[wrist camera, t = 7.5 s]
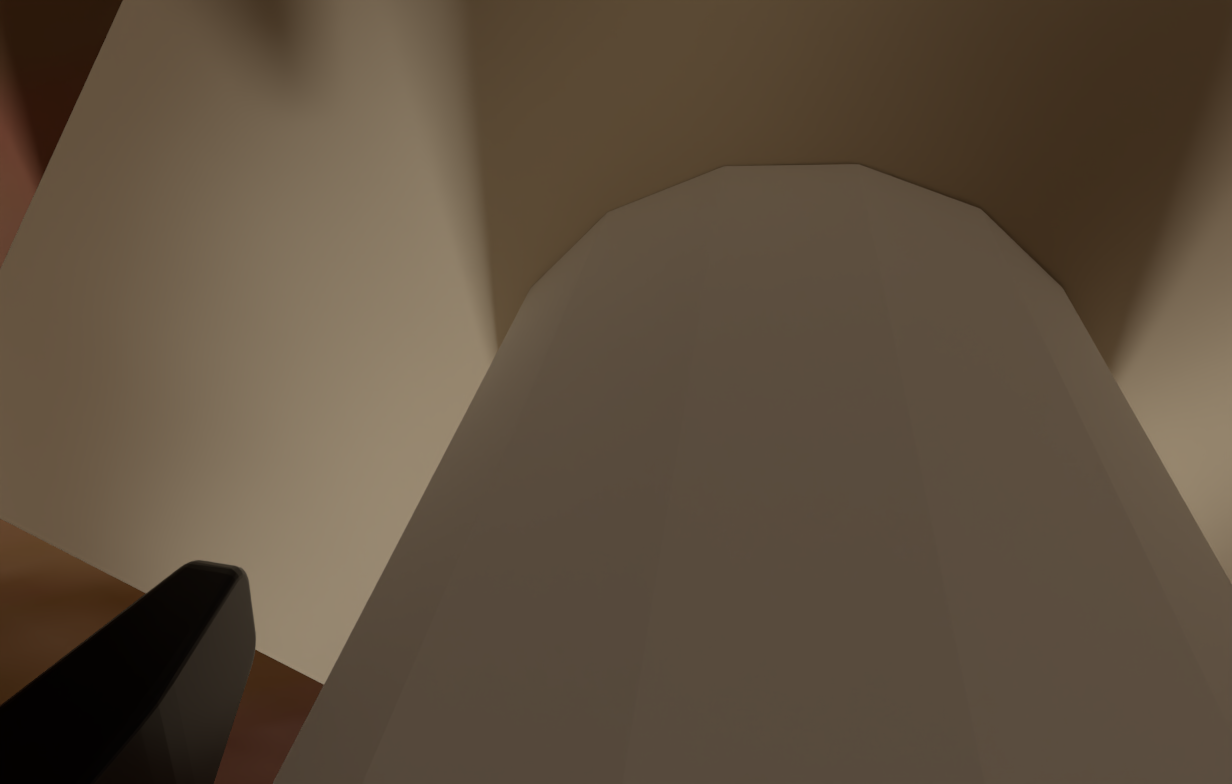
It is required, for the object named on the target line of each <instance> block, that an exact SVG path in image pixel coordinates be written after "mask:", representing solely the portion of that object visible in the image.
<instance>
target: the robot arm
mask: <svg viewBox="0 0 1232 784" xmlns="http://www.w3.org/2000/svg"><path fill="white" fill-rule="evenodd" d="M255 647H256V631H255V624H254V616H253V608H252V601H251V593H250V585H249V580H248V576H247V574H246V572H245V571H244V570H243V569H242V568H241V567H238V566H235V565H228V564H222V563H216V562H210V561H204V560H195V561H191V562H188V563H186V564H184V565H183V566H181V567H180V568H178V569H177V570H176V571H175V572H173V573H172V574H171V575H169V576H168V577H167V578H165V579H164V580H163V581H162V582H160V583H159V584H158V585H156V586H155V587H154V588H152V589H151V590H150V591H149V592H147V593H146V594H145V595H143V596H142V597H141V598H139V599H138V600H137V601H136V602H134V603H133V604H132V605H130V606H129V607H128V608H126V609H125V610H124V611H123V612H121V613H120V614H119V615H117V616H116V617H115V618H113V619H112V620H111V621H110V622H108V623H107V624H106V625H104V626H103V627H102V628H100V629H99V630H98V631H97V632H95V633H94V634H93V635H91V636H90V637H89V638H87V639H86V640H85V641H84V642H82V643H81V644H80V645H78V646H77V647H76V648H74V649H73V650H72V651H71V652H69V653H68V654H67V655H65V656H64V657H63V658H61V659H60V660H59V661H58V662H56V663H55V664H54V665H52V666H51V667H50V668H48V669H47V670H46V671H45V672H43V673H42V674H41V675H39V676H38V677H37V678H35V679H34V680H33V681H32V682H30V683H29V684H28V685H26V686H25V687H24V688H22V689H21V690H20V691H19V692H17V693H16V694H15V695H13V696H12V697H11V698H9V699H8V700H7V701H6V702H4V703H3V704H2V705H0V784H214V781H215V778H216V774H217V771H218V768H219V765H220V762H221V759H222V756H223V753H224V750H225V747H226V744H227V741H228V737H229V734H230V731H231V728H232V725H233V722H234V719H235V716H236V713H237V710H238V707H239V703H240V700H241V697H242V694H243V691H244V688H245V685H246V682H247V679H248V676H249V673H250V669H251V666H252V663H253V658H254V654H255Z"/></svg>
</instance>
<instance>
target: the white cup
mask: <svg viewBox="0 0 1232 784" xmlns="http://www.w3.org/2000/svg"><path fill="white" fill-rule="evenodd" d="M273 784H1232V584H1231V582H1230V580H1229V579H1228V577H1227V575H1226V573H1225V572H1224V570H1223V568H1222V566H1221V564H1220V563H1219V561H1218V559H1217V557H1216V556H1215V554H1214V552H1213V550H1212V549H1211V547H1210V545H1209V543H1208V542H1207V540H1206V538H1205V536H1204V535H1203V533H1202V531H1201V529H1200V528H1199V526H1198V524H1197V522H1196V521H1195V519H1194V517H1193V515H1192V514H1191V512H1190V510H1189V508H1188V507H1187V505H1186V503H1185V501H1184V500H1183V498H1182V496H1181V494H1180V493H1179V491H1178V489H1177V487H1176V486H1175V484H1174V482H1173V480H1172V479H1171V477H1170V475H1169V473H1168V472H1167V470H1166V468H1165V466H1164V465H1163V463H1162V461H1161V459H1160V458H1159V456H1158V454H1157V452H1156V451H1155V449H1154V447H1153V445H1152V443H1151V442H1150V440H1149V438H1148V436H1147V435H1146V433H1145V431H1144V429H1143V428H1142V426H1141V424H1140V422H1139V421H1138V419H1137V417H1136V415H1135V414H1134V412H1133V410H1132V408H1131V407H1130V405H1129V403H1128V401H1127V400H1126V398H1125V396H1124V394H1123V393H1122V391H1121V389H1120V387H1119V386H1118V384H1117V382H1116V380H1115V379H1114V377H1113V375H1112V373H1111V372H1110V370H1109V368H1108V366H1107V365H1106V363H1105V361H1104V359H1103V358H1102V356H1101V354H1100V352H1099V351H1098V349H1097V347H1096V345H1095V344H1094V342H1093V340H1092V338H1091V337H1090V335H1089V333H1088V331H1087V329H1086V328H1085V326H1084V324H1083V322H1082V321H1081V319H1080V317H1079V315H1078V314H1077V312H1076V310H1075V308H1074V307H1073V305H1072V303H1071V301H1070V300H1069V298H1068V296H1067V294H1066V293H1065V291H1064V289H1063V288H1062V287H1061V286H1060V285H1059V284H1058V283H1057V282H1056V281H1055V280H1054V279H1053V278H1052V277H1051V276H1050V275H1049V274H1048V273H1047V272H1046V271H1045V270H1044V269H1042V268H1041V267H1040V266H1039V265H1038V264H1037V263H1036V262H1035V261H1034V260H1033V259H1032V258H1031V257H1030V256H1029V255H1028V254H1027V253H1026V252H1025V251H1024V250H1023V249H1022V248H1021V247H1020V246H1019V245H1018V244H1017V243H1016V242H1015V241H1013V240H1012V239H1011V238H1010V237H1009V236H1008V235H1007V234H1006V233H1005V232H1004V231H1003V230H1002V229H1001V228H1000V227H999V226H998V225H997V224H996V223H995V222H994V221H993V220H992V219H991V218H990V217H989V216H988V215H987V214H986V213H985V212H983V211H982V210H981V209H980V208H977V207H975V206H972V205H969V204H966V203H964V202H961V201H958V200H955V199H953V198H950V197H947V196H944V195H942V194H939V193H936V192H934V191H931V190H928V189H925V188H923V187H920V186H917V185H914V184H912V183H909V182H906V181H903V180H901V179H898V178H895V177H893V176H890V175H887V174H884V173H882V172H879V171H876V170H873V169H871V168H868V167H865V166H862V165H860V164H831V165H763V166H723V167H721V168H718V169H715V170H713V171H710V172H708V173H705V174H703V175H700V176H698V177H695V178H693V179H690V180H688V181H685V182H683V183H680V184H678V185H675V186H672V187H670V188H667V189H665V190H662V191H660V192H657V193H655V194H652V195H650V196H647V197H645V198H642V199H640V200H637V201H634V202H632V203H629V204H627V205H624V206H622V207H619V208H617V209H614V210H612V211H609V212H607V213H606V214H605V215H604V216H603V217H602V218H601V219H600V220H599V221H598V222H597V223H596V224H595V225H594V226H593V227H592V228H591V229H590V230H589V231H588V232H587V233H586V234H585V235H584V236H583V237H582V238H581V239H580V240H579V241H578V242H577V243H576V244H575V245H574V246H573V247H572V248H571V249H570V250H569V251H568V252H567V253H566V254H565V255H564V256H563V257H562V258H561V259H560V260H559V261H558V262H557V263H556V264H554V265H553V266H552V267H551V268H550V269H549V270H548V271H547V272H546V273H545V274H544V275H543V276H542V277H541V278H540V279H539V280H538V281H537V282H536V283H535V284H534V285H533V286H532V287H531V288H530V290H529V292H528V294H527V296H526V298H525V300H524V301H523V303H522V305H521V307H520V309H519V311H518V313H517V315H516V317H515V319H514V321H513V323H512V325H511V326H510V328H509V330H508V332H507V334H506V336H505V338H504V340H503V342H502V344H501V346H500V348H499V350H498V351H497V353H496V355H495V357H494V359H493V361H492V363H491V365H490V367H489V369H488V371H487V373H486V375H485V376H484V378H483V380H482V382H481V384H480V386H479V388H478V390H477V392H476V394H475V396H474V398H473V400H472V401H471V403H470V405H469V407H468V409H467V411H466V413H465V415H464V417H463V419H462V421H461V423H460V425H459V426H458V428H457V430H456V432H455V434H454V436H453V438H452V440H451V442H450V444H449V446H448V448H447V449H446V451H445V453H444V455H443V457H442V459H441V461H440V463H439V465H438V467H437V469H436V471H435V473H434V474H433V476H432V478H431V480H430V482H429V484H428V486H427V488H426V490H425V492H424V494H423V496H422V498H421V499H420V501H419V503H418V505H417V507H416V509H415V511H414V513H413V515H412V517H411V519H410V521H409V523H408V524H407V526H406V528H405V530H404V532H403V534H402V536H401V538H400V540H399V542H398V544H397V546H396V548H395V549H394V551H393V553H392V555H391V557H390V559H389V561H388V563H387V565H386V567H385V569H384V571H383V573H382V574H381V576H380V578H379V580H378V582H377V584H376V586H375V588H374V590H373V592H372V594H371V596H370V597H369V599H368V601H367V603H366V605H365V607H364V609H363V611H362V613H361V615H360V617H359V619H358V621H357V622H356V624H355V626H354V628H353V630H352V632H351V634H350V636H349V638H348V640H347V642H346V644H345V646H344V647H343V649H342V651H341V653H340V655H339V657H338V659H337V661H336V663H335V665H334V667H333V669H332V671H331V672H330V674H329V676H328V678H327V680H326V682H325V684H324V686H323V688H322V690H321V692H320V694H319V696H318V697H317V699H316V701H315V703H314V705H313V707H312V709H311V711H310V713H309V715H308V717H307V719H306V721H305V722H304V724H303V726H302V728H301V730H300V732H299V734H298V736H297V738H296V740H295V742H294V744H293V745H292V747H291V749H290V751H289V753H288V755H287V757H286V759H285V761H284V763H283V765H282V767H281V769H280V770H279V772H278V774H277V776H276V778H275V780H274V782H273Z"/></svg>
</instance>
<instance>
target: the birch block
mask: <svg viewBox="0 0 1232 784" xmlns="http://www.w3.org/2000/svg"><path fill="white" fill-rule="evenodd" d="M831 164H860V165H862V166H865V167H868V168H871V169H873V170H876V171H879V172H882V173H884V174H887V175H890V176H893V177H895V178H898V179H901V180H903V181H906V182H909V183H912V184H914V185H917V186H920V187H923V188H925V189H928V190H931V191H934V192H936V193H939V194H942V195H944V196H947V197H950V198H953V199H955V200H958V201H961V202H964V203H966V204H969V205H972V206H975V207H977V208H980V209H981V210H982V211H983V212H985V213H986V214H987V215H988V216H989V217H990V218H991V219H992V220H993V221H994V222H995V223H996V224H997V225H998V226H999V227H1000V228H1001V229H1002V230H1003V231H1004V232H1005V233H1006V234H1007V235H1008V236H1009V237H1010V238H1011V239H1012V240H1013V241H1015V242H1016V243H1017V244H1018V245H1019V246H1020V247H1021V248H1022V249H1023V250H1024V251H1025V252H1026V253H1027V254H1028V255H1029V256H1030V257H1031V258H1032V259H1033V260H1034V261H1035V262H1036V263H1037V264H1038V265H1039V266H1040V267H1041V268H1042V269H1044V270H1045V271H1046V272H1047V273H1048V274H1049V275H1050V276H1051V277H1052V278H1053V279H1054V280H1055V281H1056V282H1057V283H1058V284H1059V285H1060V286H1061V287H1062V288H1063V289H1064V291H1065V293H1066V294H1067V296H1068V298H1069V300H1070V301H1071V303H1072V305H1073V307H1074V308H1075V310H1076V312H1077V314H1078V315H1079V317H1080V319H1081V321H1082V322H1083V324H1084V326H1085V328H1086V329H1087V331H1088V333H1089V335H1090V337H1091V338H1092V340H1093V342H1094V344H1095V345H1096V347H1097V349H1098V351H1099V352H1100V354H1101V356H1102V358H1103V359H1104V361H1105V363H1106V365H1107V366H1108V368H1109V370H1110V372H1111V373H1112V375H1113V377H1114V379H1115V380H1116V382H1117V384H1118V386H1119V387H1120V389H1121V391H1122V393H1123V394H1124V396H1125V398H1126V400H1127V401H1128V403H1129V405H1130V407H1131V408H1132V410H1133V412H1134V414H1135V415H1136V417H1137V419H1138V421H1139V422H1140V424H1141V426H1142V428H1143V429H1144V431H1145V433H1146V435H1147V436H1148V438H1149V440H1150V442H1151V443H1152V445H1153V447H1154V449H1155V451H1156V452H1157V454H1158V456H1159V458H1160V459H1161V461H1162V463H1163V465H1164V466H1165V468H1166V470H1167V472H1168V473H1169V475H1170V477H1171V479H1172V480H1173V482H1174V484H1175V486H1176V487H1177V489H1178V491H1179V493H1180V494H1181V496H1182V498H1183V500H1184V501H1185V503H1186V505H1187V507H1188V508H1189V510H1190V512H1191V514H1192V515H1193V517H1194V519H1195V521H1196V522H1197V524H1198V526H1199V528H1200V529H1201V531H1202V533H1203V535H1204V536H1205V538H1206V540H1207V542H1208V543H1209V545H1210V547H1211V549H1212V550H1213V552H1214V554H1215V556H1216V557H1217V559H1218V561H1219V563H1220V564H1221V566H1222V568H1223V570H1224V572H1225V573H1226V575H1227V577H1228V579H1229V580H1230V582H1231V584H1232V0H123V1H122V3H121V5H120V8H119V10H118V12H117V14H116V16H115V19H114V21H113V23H112V25H111V27H110V30H109V32H108V34H107V36H106V38H105V41H104V43H103V45H102V47H101V49H100V52H99V54H98V56H97V58H96V60H95V62H94V65H93V67H92V69H91V71H90V73H89V76H88V78H87V80H86V82H85V84H84V87H83V89H82V91H81V93H80V95H79V98H78V100H77V102H76V104H75V106H74V109H73V111H72V113H71V115H70V117H69V120H68V122H67V124H66V126H65V128H64V131H63V133H62V135H61V137H60V139H59V142H58V144H57V146H56V148H55V150H54V153H53V155H52V157H51V159H50V161H49V164H48V166H47V168H46V170H45V172H44V175H43V177H42V179H41V181H40V183H39V186H38V188H37V190H36V192H35V194H34V196H33V199H32V201H31V203H30V205H29V207H28V210H27V212H26V214H25V216H24V218H23V221H22V223H21V225H20V227H19V229H18V232H17V234H16V236H15V238H14V240H13V243H12V245H11V247H10V249H9V251H8V254H7V256H6V258H5V260H4V262H3V265H2V267H1V269H0V519H2V520H4V521H6V522H8V523H10V524H12V525H14V526H16V527H18V528H20V529H22V530H24V531H26V532H27V533H29V534H31V535H33V536H35V537H37V538H39V539H41V540H43V541H45V542H47V543H49V544H51V545H53V546H55V547H57V548H59V549H61V550H63V551H65V552H67V553H68V554H70V555H72V556H74V557H76V558H78V559H80V560H82V561H84V562H86V563H88V564H90V565H92V566H94V567H96V568H98V569H100V570H102V571H104V572H106V573H107V574H109V575H111V576H113V577H115V578H117V579H119V580H121V581H123V582H125V583H127V584H129V585H131V586H133V587H135V588H137V589H139V590H141V591H143V592H145V593H147V592H149V591H150V590H151V589H152V588H154V587H155V586H156V585H158V584H159V583H160V582H162V581H163V580H164V579H165V578H167V577H168V576H169V575H171V574H172V573H173V572H175V571H176V570H177V569H178V568H180V567H181V566H183V565H184V564H186V563H188V562H191V561H195V560H204V561H210V562H216V563H222V564H228V565H235V566H238V567H241V568H242V569H243V570H244V571H245V572H246V574H247V576H248V580H249V585H250V593H251V601H252V608H253V616H254V624H255V631H256V647H255V649H256V650H258V651H260V652H262V653H264V654H266V655H267V656H269V657H271V658H273V659H275V660H277V661H279V662H281V663H283V664H285V665H287V666H289V667H291V668H293V669H295V670H297V671H299V672H301V673H303V674H305V675H307V676H308V677H310V678H312V679H314V680H316V681H318V682H320V683H322V684H325V682H326V680H327V678H328V676H329V674H330V672H331V671H332V669H333V667H334V665H335V663H336V661H337V659H338V657H339V655H340V653H341V651H342V649H343V647H344V646H345V644H346V642H347V640H348V638H349V636H350V634H351V632H352V630H353V628H354V626H355V624H356V622H357V621H358V619H359V617H360V615H361V613H362V611H363V609H364V607H365V605H366V603H367V601H368V599H369V597H370V596H371V594H372V592H373V590H374V588H375V586H376V584H377V582H378V580H379V578H380V576H381V574H382V573H383V571H384V569H385V567H386V565H387V563H388V561H389V559H390V557H391V555H392V553H393V551H394V549H395V548H396V546H397V544H398V542H399V540H400V538H401V536H402V534H403V532H404V530H405V528H406V526H407V524H408V523H409V521H410V519H411V517H412V515H413V513H414V511H415V509H416V507H417V505H418V503H419V501H420V499H421V498H422V496H423V494H424V492H425V490H426V488H427V486H428V484H429V482H430V480H431V478H432V476H433V474H434V473H435V471H436V469H437V467H438V465H439V463H440V461H441V459H442V457H443V455H444V453H445V451H446V449H447V448H448V446H449V444H450V442H451V440H452V438H453V436H454V434H455V432H456V430H457V428H458V426H459V425H460V423H461V421H462V419H463V417H464V415H465V413H466V411H467V409H468V407H469V405H470V403H471V401H472V400H473V398H474V396H475V394H476V392H477V390H478V388H479V386H480V384H481V382H482V380H483V378H484V376H485V375H486V373H487V371H488V369H489V367H490V365H491V363H492V361H493V359H494V357H495V355H496V353H497V351H498V350H499V348H500V346H501V344H502V342H503V340H504V338H505V336H506V334H507V332H508V330H509V328H510V326H511V325H512V323H513V321H514V319H515V317H516V315H517V313H518V311H519V309H520V307H521V305H522V303H523V301H524V300H525V298H526V296H527V294H528V292H529V290H530V288H531V287H532V286H533V285H534V284H535V283H536V282H537V281H538V280H539V279H540V278H541V277H542V276H543V275H544V274H545V273H546V272H547V271H548V270H549V269H550V268H551V267H552V266H553V265H554V264H556V263H557V262H558V261H559V260H560V259H561V258H562V257H563V256H564V255H565V254H566V253H567V252H568V251H569V250H570V249H571V248H572V247H573V246H574V245H575V244H576V243H577V242H578V241H579V240H580V239H581V238H582V237H583V236H584V235H585V234H586V233H587V232H588V231H589V230H590V229H591V228H592V227H593V226H594V225H595V224H596V223H597V222H598V221H599V220H600V219H601V218H602V217H603V216H604V215H605V214H606V213H607V212H609V211H612V210H614V209H617V208H619V207H622V206H624V205H627V204H629V203H632V202H634V201H637V200H640V199H642V198H645V197H647V196H650V195H652V194H655V193H657V192H660V191H662V190H665V189H667V188H670V187H672V186H675V185H678V184H680V183H683V182H685V181H688V180H690V179H693V178H695V177H698V176H700V175H703V174H705V173H708V172H710V171H713V170H715V169H718V168H721V167H723V166H763V165H831Z"/></svg>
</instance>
